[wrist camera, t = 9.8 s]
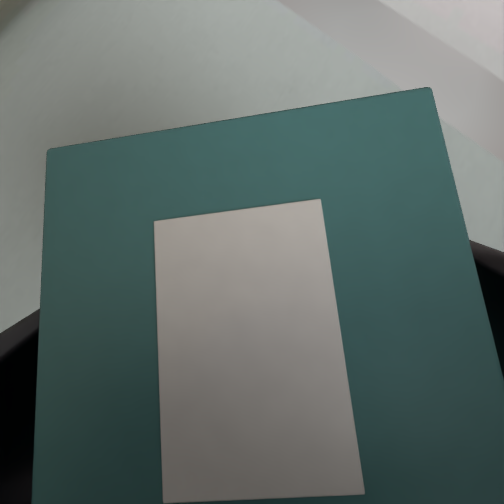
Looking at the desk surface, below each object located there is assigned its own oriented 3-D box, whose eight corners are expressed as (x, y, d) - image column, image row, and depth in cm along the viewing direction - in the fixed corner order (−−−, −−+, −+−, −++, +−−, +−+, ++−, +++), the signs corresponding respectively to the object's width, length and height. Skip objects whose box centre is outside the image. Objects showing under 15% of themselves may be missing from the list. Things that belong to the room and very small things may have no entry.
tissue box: (359, 398, 14) (580, 661, 3) (221, 408, 15) (17, 658, 4) (336, 248, 15) (434, 81, 5) (211, 263, 16) (42, 146, 5)
